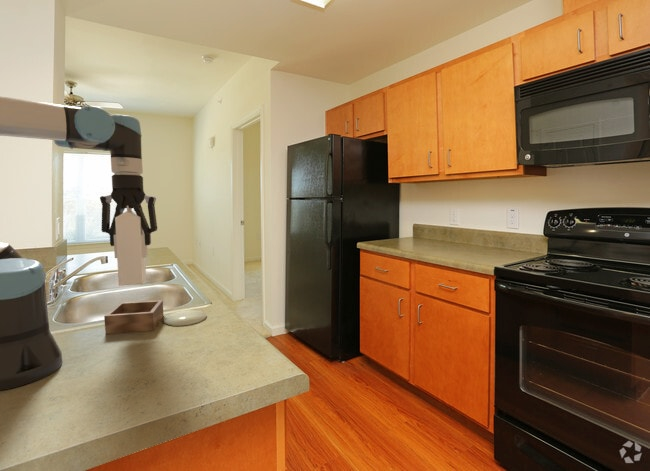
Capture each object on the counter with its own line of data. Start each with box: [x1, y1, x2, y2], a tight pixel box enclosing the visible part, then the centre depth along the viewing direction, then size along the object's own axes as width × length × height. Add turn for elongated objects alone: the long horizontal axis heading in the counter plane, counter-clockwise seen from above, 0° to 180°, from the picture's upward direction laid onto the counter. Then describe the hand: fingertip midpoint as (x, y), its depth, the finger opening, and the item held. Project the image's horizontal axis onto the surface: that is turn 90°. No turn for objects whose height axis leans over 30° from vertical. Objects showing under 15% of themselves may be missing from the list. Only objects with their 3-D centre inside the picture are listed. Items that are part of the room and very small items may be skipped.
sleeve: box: [104, 299, 164, 335], centre depth 100 cm, size 12×12×5 cm
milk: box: [115, 206, 147, 287], centre depth 98 cm, size 6×6×22 cm
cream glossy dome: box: [163, 309, 207, 327], centre depth 106 cm, size 12×12×1 cm
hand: (131, 256), depth 98 cm, fingers closed on milk, 6 cm apart
